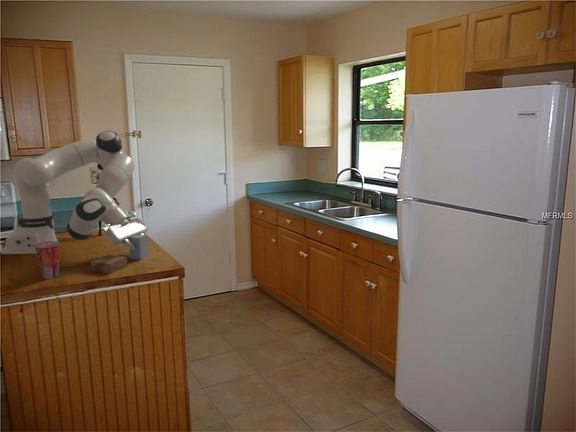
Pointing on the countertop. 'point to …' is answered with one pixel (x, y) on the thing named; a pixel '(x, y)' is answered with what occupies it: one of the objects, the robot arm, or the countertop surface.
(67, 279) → the countertop surface
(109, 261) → the walnut block
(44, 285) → the countertop surface
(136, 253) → the blue block
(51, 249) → the cup
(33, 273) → the countertop surface
